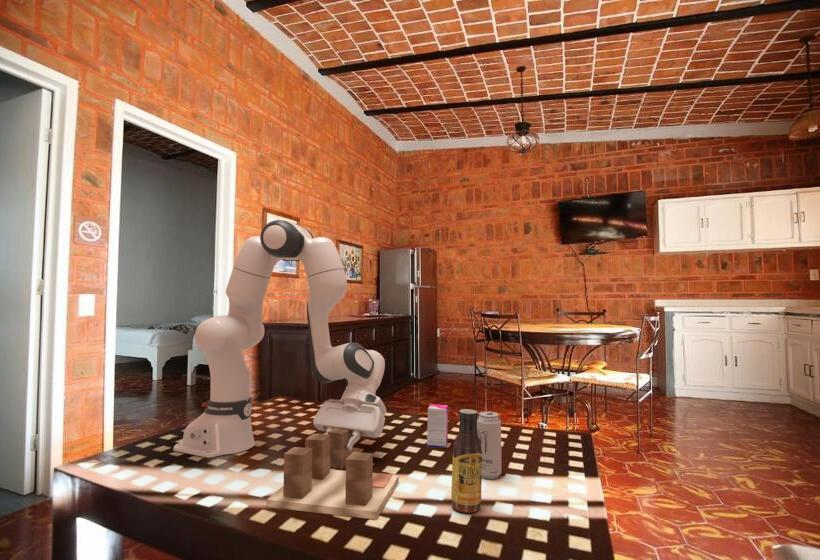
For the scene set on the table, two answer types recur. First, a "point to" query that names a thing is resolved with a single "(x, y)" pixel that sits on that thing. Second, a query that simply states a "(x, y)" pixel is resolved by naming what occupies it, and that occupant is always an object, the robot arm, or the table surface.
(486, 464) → the energy drink can
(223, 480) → the table surface
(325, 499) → the board
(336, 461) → the walnut peg
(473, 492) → the sauce bottle
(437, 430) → the supplement box
